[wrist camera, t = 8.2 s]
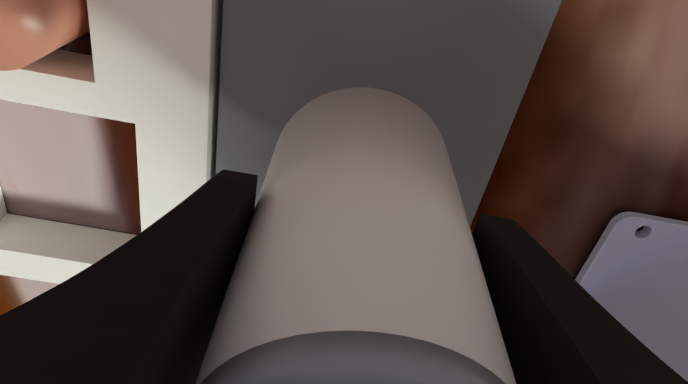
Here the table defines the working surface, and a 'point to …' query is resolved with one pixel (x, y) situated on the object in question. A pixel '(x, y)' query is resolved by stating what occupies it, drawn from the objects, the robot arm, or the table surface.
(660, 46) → the table surface
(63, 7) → the peach rounded piece
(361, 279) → the cylinder
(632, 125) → the table surface
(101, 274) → the robot arm
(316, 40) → the pad
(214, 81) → the white plate with holes
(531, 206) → the table surface
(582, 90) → the table surface
